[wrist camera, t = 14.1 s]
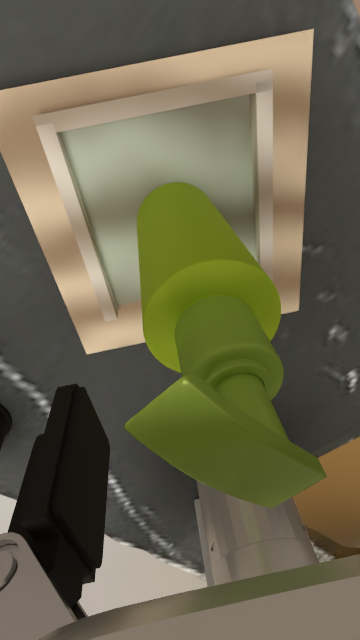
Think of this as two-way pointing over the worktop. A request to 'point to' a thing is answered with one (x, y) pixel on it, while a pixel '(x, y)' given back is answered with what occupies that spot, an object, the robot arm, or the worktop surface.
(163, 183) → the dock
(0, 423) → the aerosol can
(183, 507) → the worktop surface
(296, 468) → the soap dispenser
